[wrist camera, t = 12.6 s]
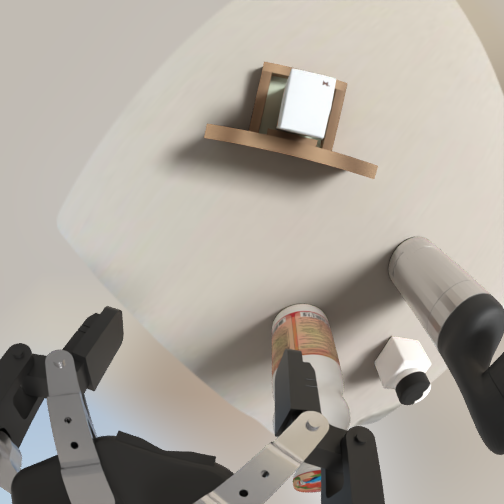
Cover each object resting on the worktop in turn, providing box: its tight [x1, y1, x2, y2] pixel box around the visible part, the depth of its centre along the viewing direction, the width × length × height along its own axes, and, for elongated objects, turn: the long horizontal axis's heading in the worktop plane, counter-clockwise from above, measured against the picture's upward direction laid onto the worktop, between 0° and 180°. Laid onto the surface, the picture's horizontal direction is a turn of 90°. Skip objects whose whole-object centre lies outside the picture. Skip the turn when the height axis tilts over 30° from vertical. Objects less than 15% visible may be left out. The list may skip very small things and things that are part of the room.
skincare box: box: [276, 68, 336, 139], centre depth 28 cm, size 6×4×12 cm
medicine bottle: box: [374, 336, 431, 405], centre depth 43 cm, size 7×7×12 cm
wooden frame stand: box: [204, 62, 378, 179], centre depth 30 cm, size 18×11×9 cm, turn 78°
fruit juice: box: [272, 304, 350, 492], centre depth 34 cm, size 9×9×28 cm
